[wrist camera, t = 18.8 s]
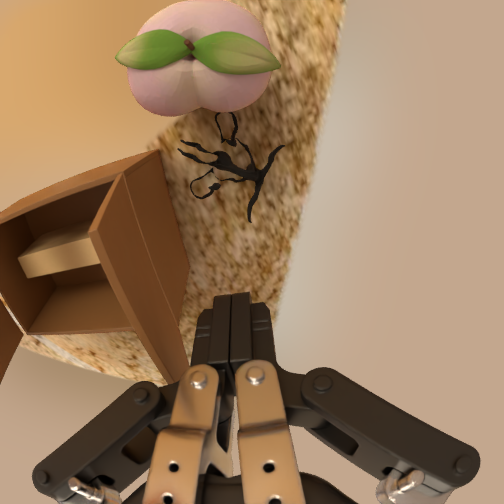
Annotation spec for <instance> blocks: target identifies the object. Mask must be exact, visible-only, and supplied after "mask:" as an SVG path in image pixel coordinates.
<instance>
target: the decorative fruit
mask: <svg viewBox="0 0 504 504" xmlns="http://www.w3.org/2000/svg"><path fill="white" fill-rule="evenodd" d="M115 59H116V60H117V61H118V62H119V63H120V64H122V65H124V66H126V67H127V75H128V81H129V85H130V88H131V91H132V93H133V95H134V97H135V98H136V100H137V102H138V103H139V104H140V105H141V106H142V107H143V108H144V109H146V110H148V111H150V112H151V113H154V114H158V115H161V116H179V115H183V114H186V113H189V112H192V111H194V110H196V109H198V108H201V107H202V108H206V109H209V110H211V111H215V112H223V113H226V112H233V111H236V110H240V109H242V108H244V107H247V106H249V105H250V104H252V103H253V102H255V101H256V100H257V99H258V98H259V97H260V96H261V95H262V94H263V92H264V91H265V89H266V87H267V85H268V83H269V80H270V77H271V72H272V71H273V70H276V69H278V68H280V67H281V65H280V63H279V62H278V60H277V59H276V57H275V56H274V55H273V54H272V53H271V49H270V44H269V41H268V38H267V35H266V32H265V30H264V28H263V26H262V24H261V23H260V21H259V20H258V19H257V18H256V17H255V16H254V15H253V14H252V13H251V12H249V11H248V10H247V9H245V8H243V7H241V6H239V5H237V4H235V3H232V2H229V1H225V0H190V1H184V2H179V3H175V4H173V5H170V6H168V7H166V8H164V9H162V10H161V11H159V12H158V13H156V14H155V15H154V16H152V17H151V18H150V19H149V20H148V21H147V22H146V23H145V24H144V25H143V26H142V28H141V29H140V30H139V32H138V34H137V36H136V37H135V38H133V39H132V40H130V41H129V42H128V43H127V44H125V45H124V46H123V47H122V48H121V50H120V51H119V52H118V53H117V55H116V56H115Z"/></svg>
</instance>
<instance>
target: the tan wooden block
mask: <svg viewBox="0 0 504 504" xmlns="http://www.w3.org/2000/svg"><path fill="white" fill-rule="evenodd" d="M93 220H94V219H91V220H88V221H84V222H81V223H77V224H74V225H71V226H68V227H64V228H61V229H58V230H55V231H52V232H49V233H46V234H43V235H41V236H40V237H39V238H38V239H37V240H36V241H35V242H33V243H32V244H31V245H30V246H29V247H28V248H27V249H26V250H25V251H24V252H23V253H22V254H21V255H20V256H19V257H18V260H19V262H20V264H21V266H22V268H23V270H24V272H25V274H26V276H27V278H32V277H37V276H42V275H46V274H51V273H56V272H61V271H65V270H70V269H75V268H80V267H85V266H89V265H94V264H99V263H100V261H99V259H98V256H97V254H96V252H95V249H94V247H93V244H92V242H91V239H90V237H89V234H88V231H89V229H90V226H91V224H92V222H93Z"/></svg>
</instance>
